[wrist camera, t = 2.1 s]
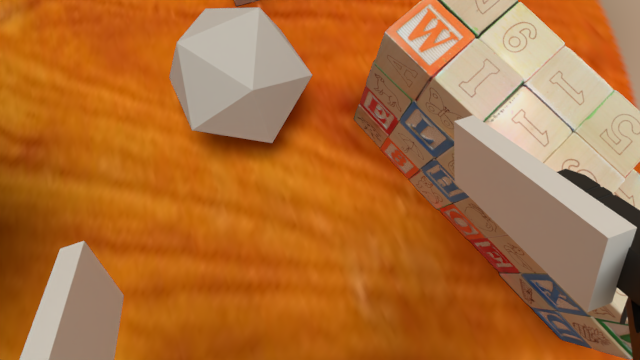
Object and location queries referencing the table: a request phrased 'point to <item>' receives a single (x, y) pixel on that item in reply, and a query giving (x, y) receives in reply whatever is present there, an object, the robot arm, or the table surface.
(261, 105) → the die
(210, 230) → the table surface
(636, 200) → the stack of blocks
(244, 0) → the tray
